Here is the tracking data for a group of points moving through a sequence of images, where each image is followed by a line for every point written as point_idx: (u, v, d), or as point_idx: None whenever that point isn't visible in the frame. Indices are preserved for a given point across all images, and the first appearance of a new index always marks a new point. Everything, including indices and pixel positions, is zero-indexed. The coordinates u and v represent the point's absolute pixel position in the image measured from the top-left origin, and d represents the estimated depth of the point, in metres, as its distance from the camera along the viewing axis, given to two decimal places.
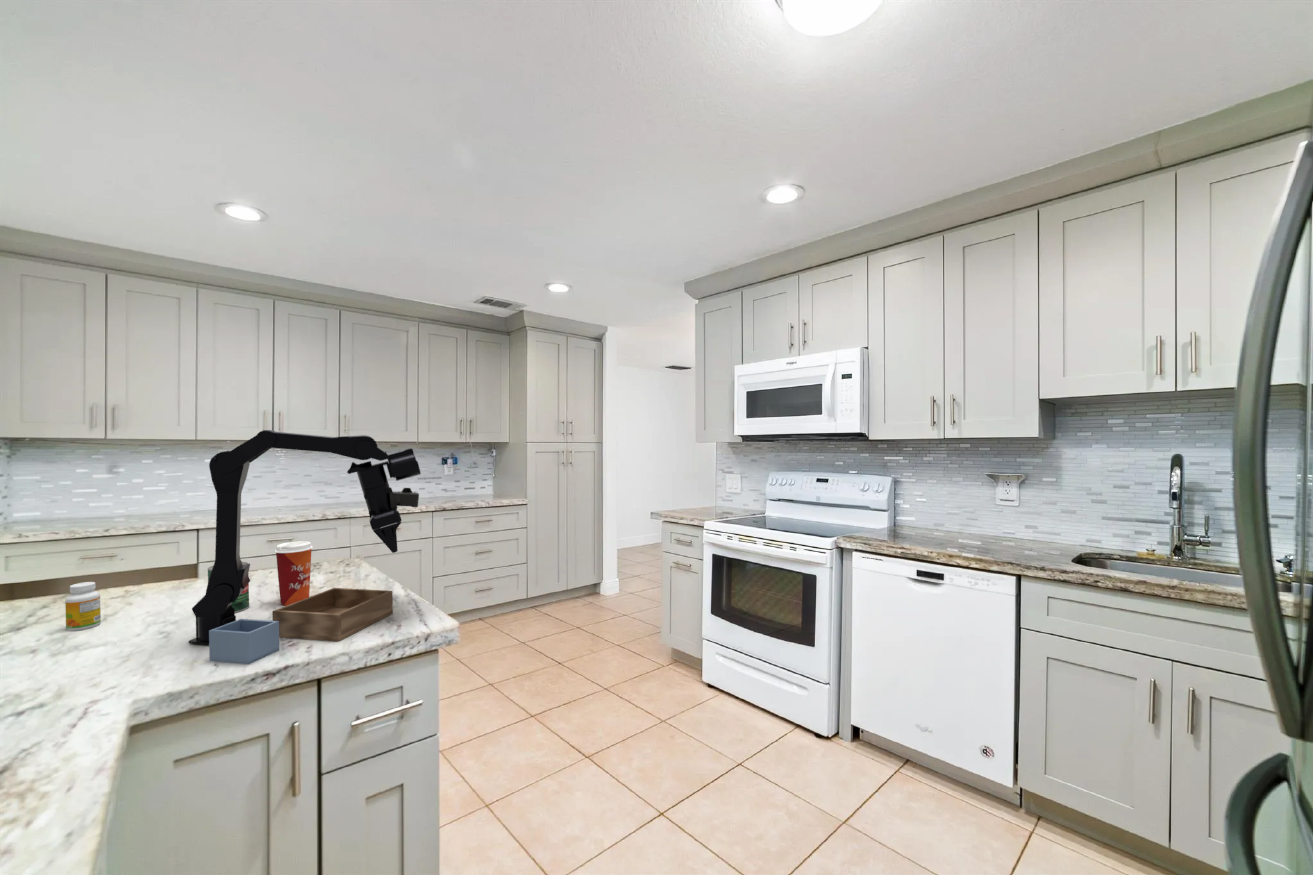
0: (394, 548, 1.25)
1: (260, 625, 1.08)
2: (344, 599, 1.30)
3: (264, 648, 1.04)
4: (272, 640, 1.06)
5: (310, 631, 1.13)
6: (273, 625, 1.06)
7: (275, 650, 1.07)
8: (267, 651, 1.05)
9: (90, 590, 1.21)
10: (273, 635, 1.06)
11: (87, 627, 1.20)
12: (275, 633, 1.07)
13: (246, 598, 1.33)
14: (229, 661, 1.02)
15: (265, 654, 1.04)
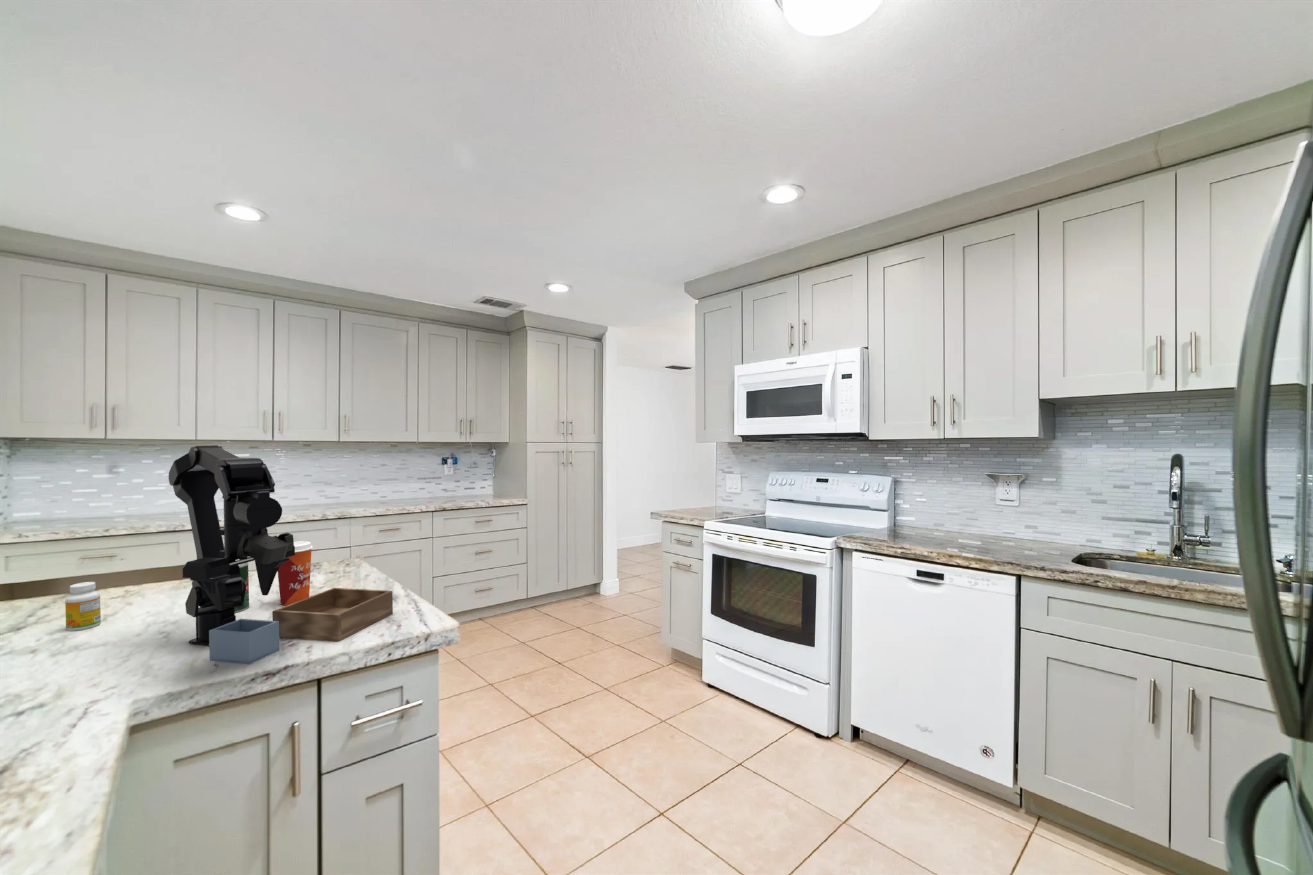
0: (218, 605, 1.00)
1: (260, 625, 1.08)
2: (344, 599, 1.30)
3: (264, 648, 1.04)
4: (272, 640, 1.06)
5: (310, 631, 1.13)
6: (273, 625, 1.06)
7: (275, 650, 1.07)
8: (267, 651, 1.05)
9: (90, 590, 1.21)
10: (273, 635, 1.06)
11: (87, 627, 1.20)
12: (275, 633, 1.07)
13: (246, 598, 1.33)
14: (229, 661, 1.02)
15: (265, 654, 1.04)
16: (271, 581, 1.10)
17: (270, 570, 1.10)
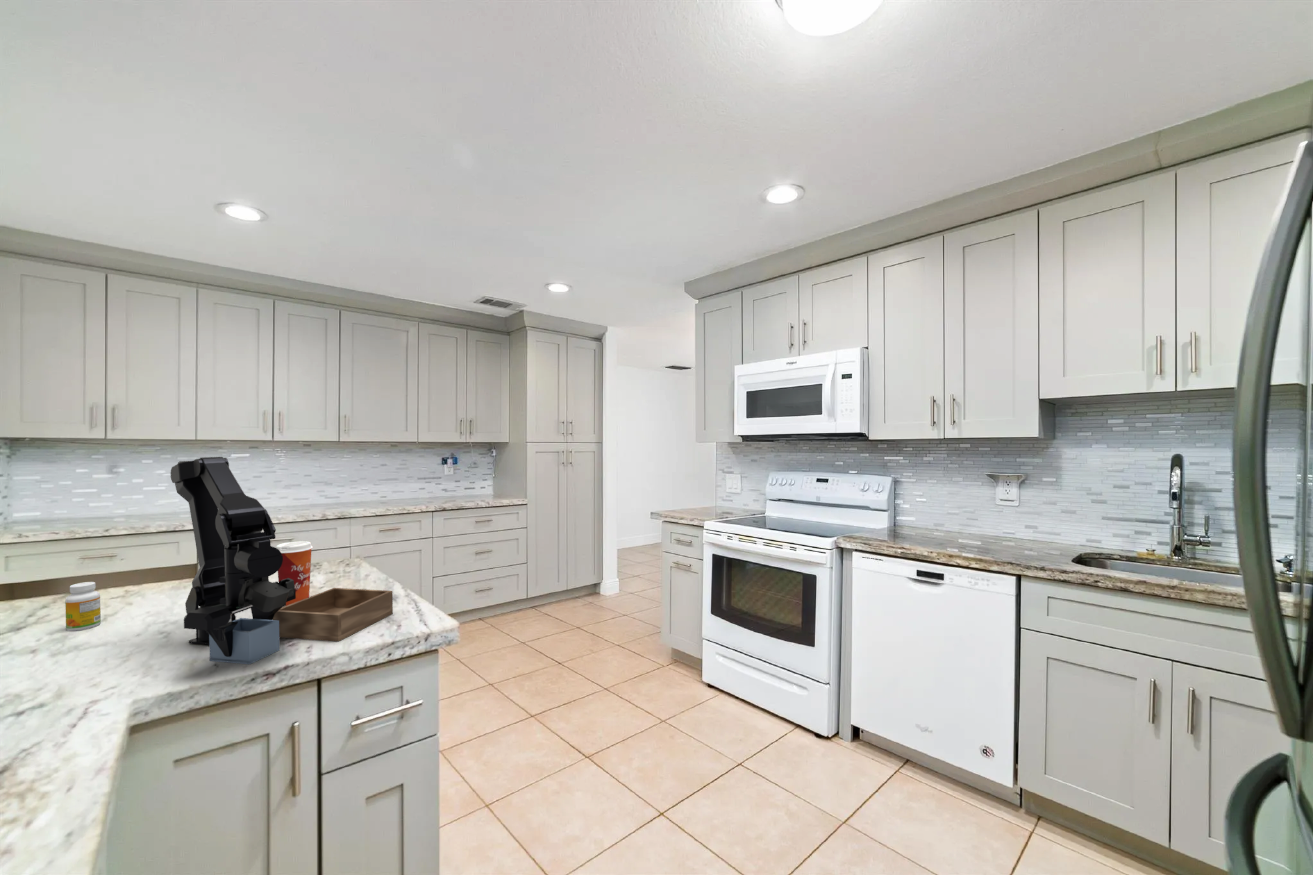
0: (226, 651, 1.01)
1: (260, 624, 1.08)
2: (344, 599, 1.30)
3: (264, 647, 1.04)
4: (272, 639, 1.06)
5: (310, 631, 1.13)
6: (273, 624, 1.06)
7: (275, 649, 1.07)
8: (267, 650, 1.05)
9: (90, 590, 1.21)
10: (273, 635, 1.06)
11: (87, 627, 1.20)
12: (275, 632, 1.07)
13: None
14: (229, 660, 1.02)
15: (265, 653, 1.04)
16: None
17: (266, 617, 1.09)
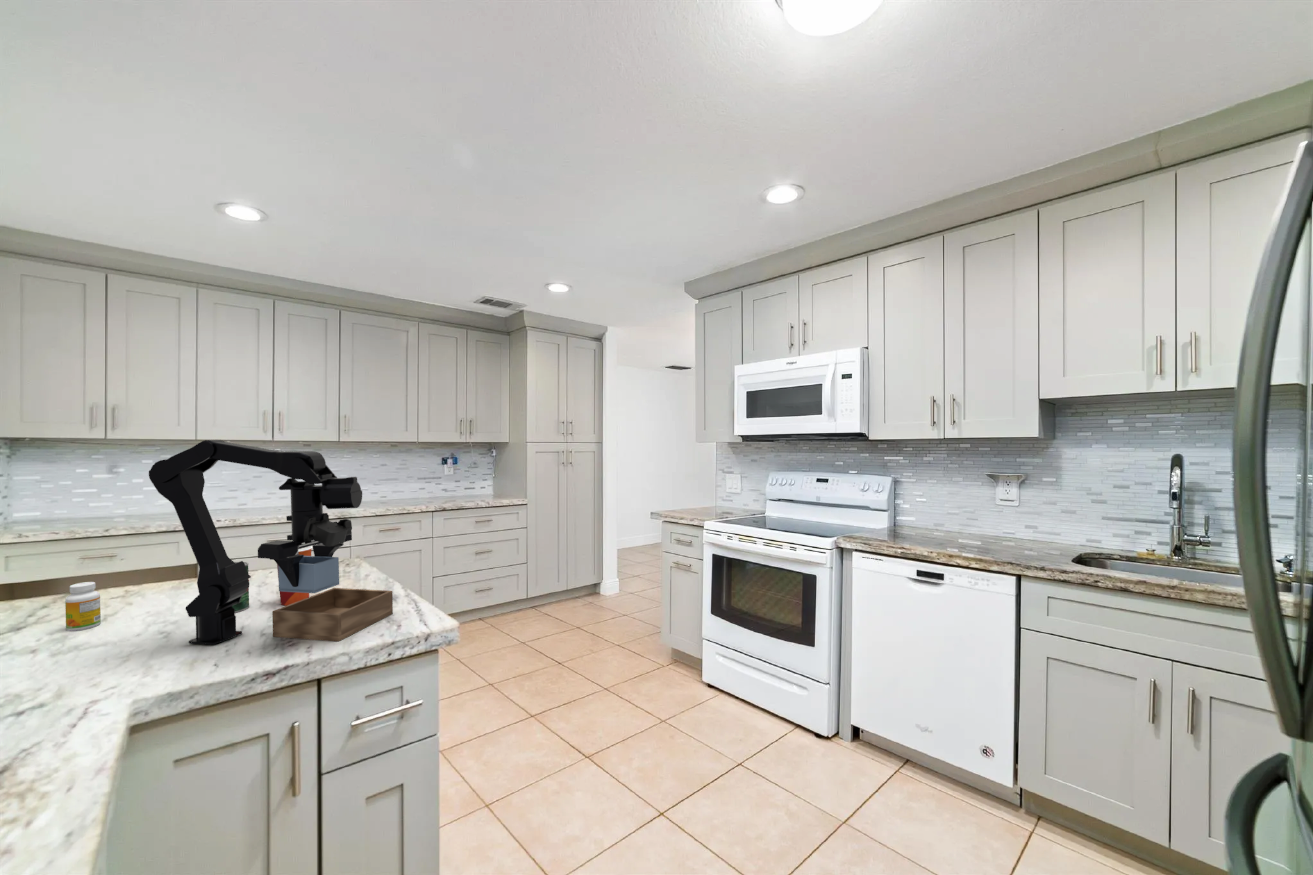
0: (293, 582, 1.12)
1: (322, 561, 1.18)
2: (344, 599, 1.30)
3: (326, 580, 1.15)
4: (333, 573, 1.16)
5: (310, 631, 1.13)
6: (334, 560, 1.17)
7: (335, 583, 1.17)
8: (329, 583, 1.15)
9: (90, 590, 1.21)
10: (334, 569, 1.17)
11: (87, 627, 1.20)
12: (335, 567, 1.17)
13: (246, 598, 1.33)
14: (296, 590, 1.13)
15: (327, 585, 1.15)
16: None
17: (326, 555, 1.19)
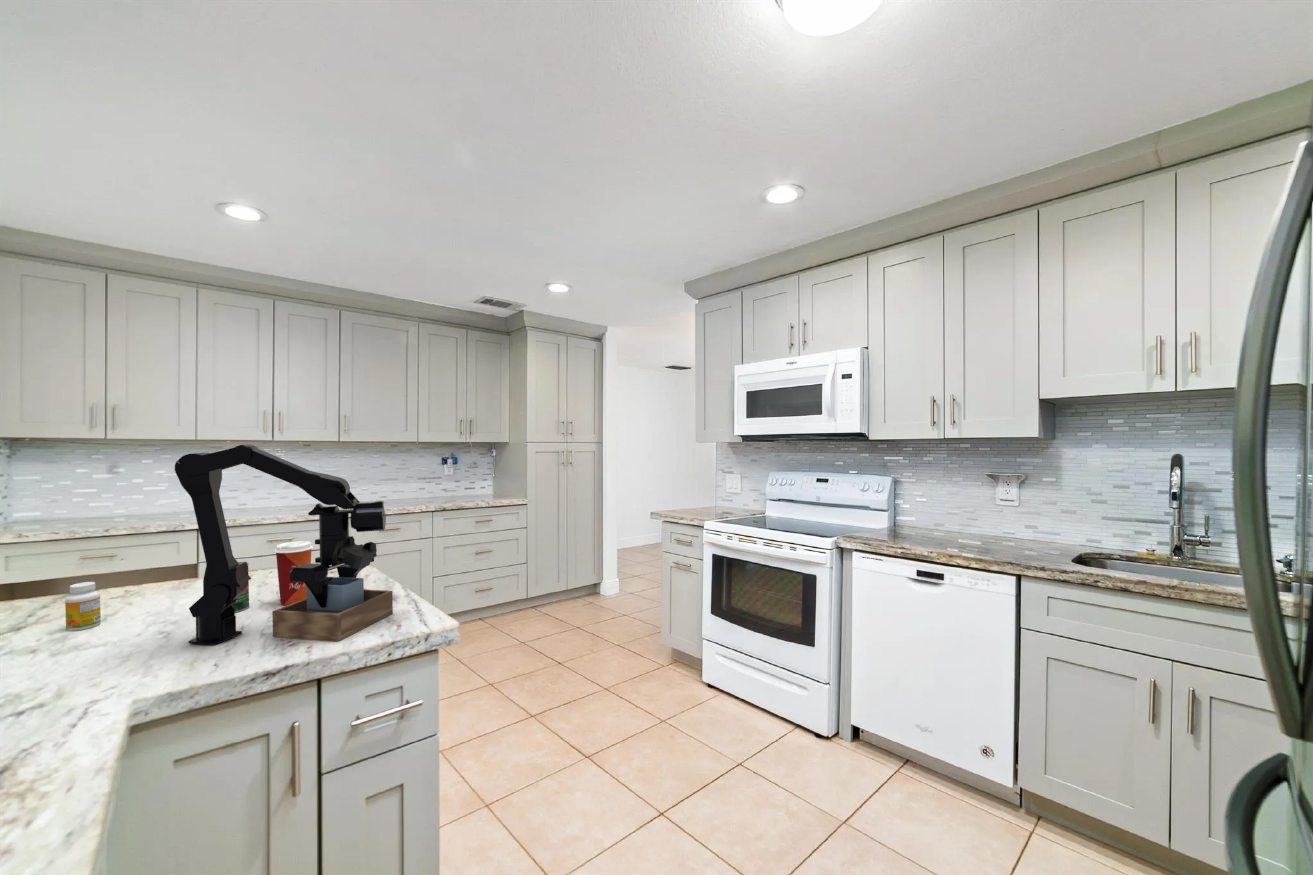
0: (321, 603, 1.17)
1: (347, 581, 1.24)
2: None
3: (353, 600, 1.20)
4: (358, 594, 1.22)
5: (310, 631, 1.13)
6: (359, 581, 1.22)
7: (360, 603, 1.23)
8: (355, 603, 1.21)
9: (90, 590, 1.21)
10: (359, 590, 1.23)
11: (87, 627, 1.20)
12: (361, 588, 1.23)
13: (246, 598, 1.33)
14: (324, 610, 1.18)
15: (353, 606, 1.21)
16: None
17: (351, 576, 1.25)
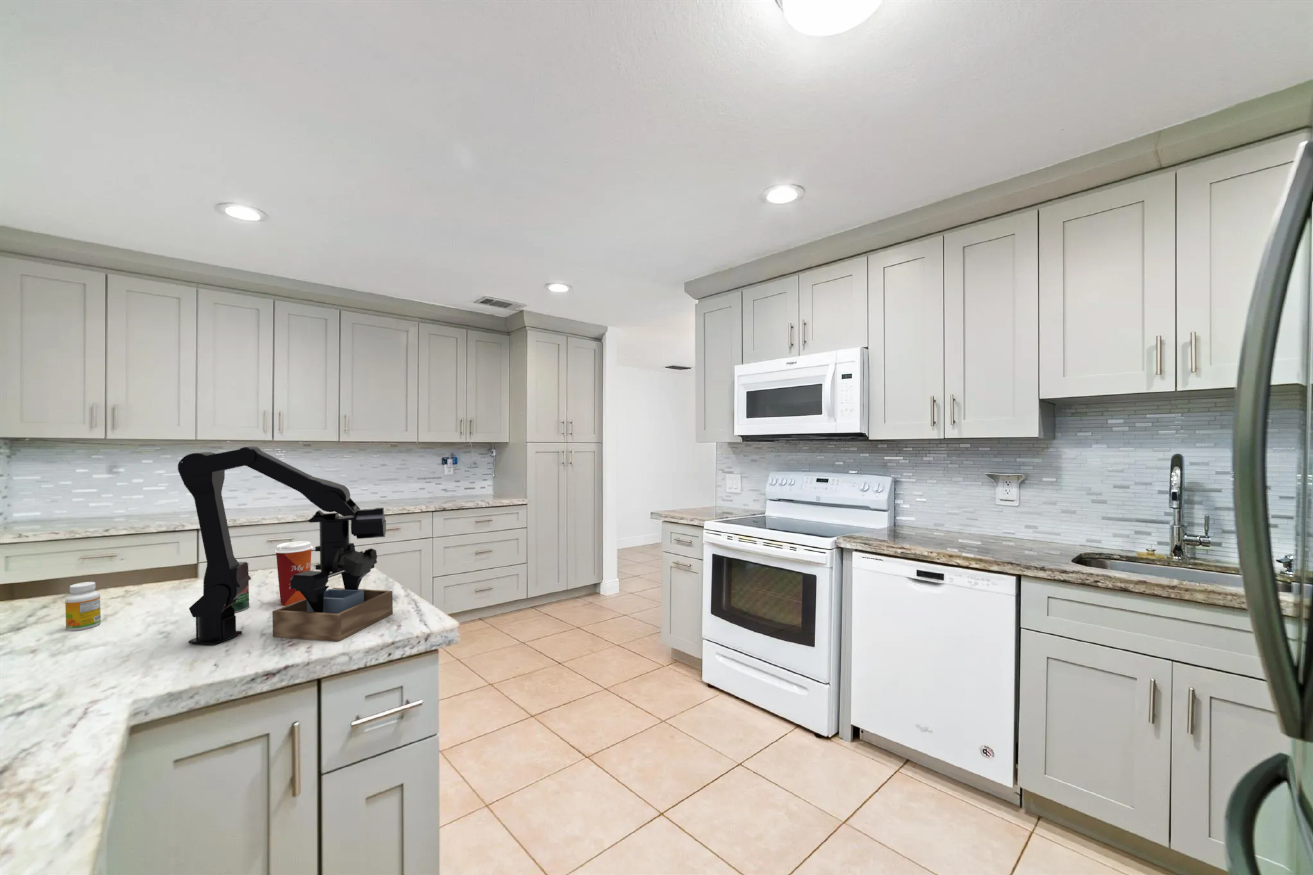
0: (318, 612, 1.16)
1: (347, 594, 1.24)
2: None
3: None
4: None
5: (310, 631, 1.13)
6: (359, 593, 1.22)
7: None
8: None
9: (90, 590, 1.21)
10: (360, 603, 1.23)
11: (87, 627, 1.20)
12: (361, 600, 1.23)
13: (246, 598, 1.33)
14: None
15: None
16: None
17: (355, 581, 1.26)
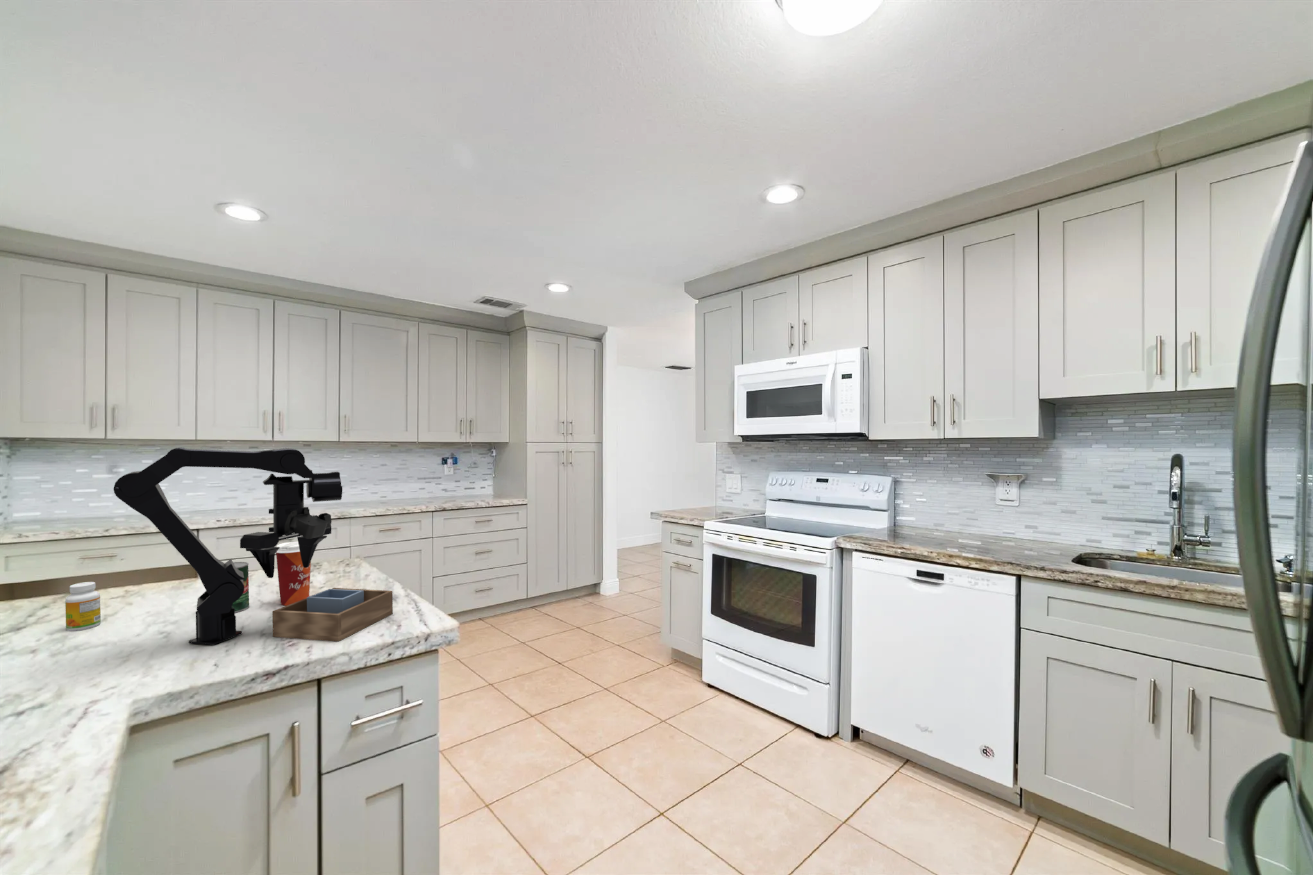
0: (268, 573, 1.17)
1: (347, 594, 1.24)
2: None
3: None
4: None
5: (310, 631, 1.13)
6: (359, 593, 1.22)
7: None
8: None
9: (90, 590, 1.21)
10: (360, 603, 1.23)
11: (87, 627, 1.20)
12: (361, 600, 1.23)
13: (246, 598, 1.33)
14: None
15: None
16: (311, 555, 1.26)
17: (310, 546, 1.26)
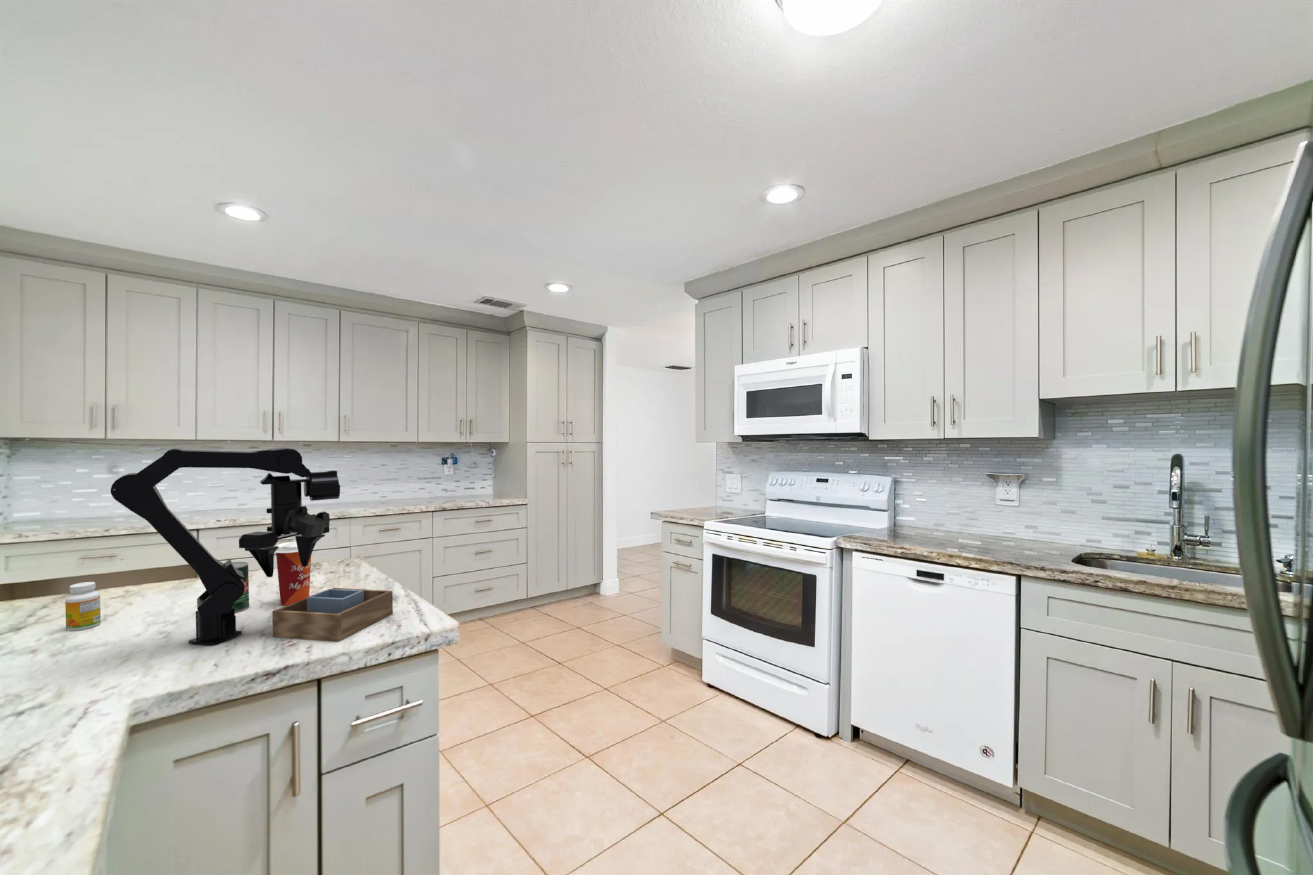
0: (268, 572, 1.17)
1: (347, 594, 1.24)
2: None
3: None
4: None
5: (310, 631, 1.13)
6: (359, 593, 1.22)
7: None
8: None
9: (90, 590, 1.21)
10: (360, 603, 1.23)
11: (87, 627, 1.20)
12: (361, 600, 1.23)
13: (246, 598, 1.33)
14: None
15: None
16: (310, 554, 1.27)
17: (309, 545, 1.26)
